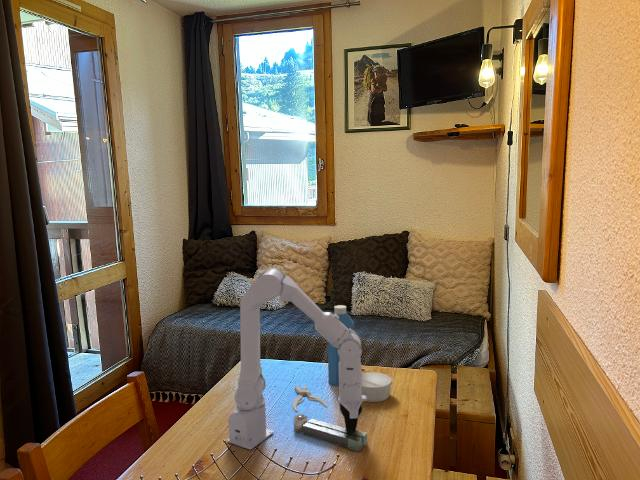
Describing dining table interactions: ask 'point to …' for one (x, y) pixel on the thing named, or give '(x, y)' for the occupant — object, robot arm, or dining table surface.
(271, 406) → the dining table surface
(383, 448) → the dining table surface
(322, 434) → the tongs frame
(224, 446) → the dining table surface
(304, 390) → the pliers
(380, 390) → the ramekin
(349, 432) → the arm
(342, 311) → the water bottle
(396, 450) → the dining table surface
